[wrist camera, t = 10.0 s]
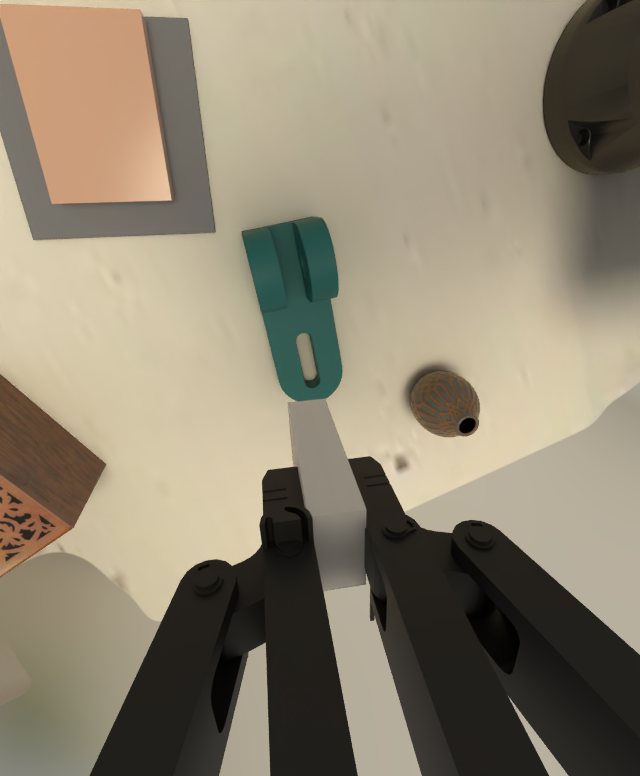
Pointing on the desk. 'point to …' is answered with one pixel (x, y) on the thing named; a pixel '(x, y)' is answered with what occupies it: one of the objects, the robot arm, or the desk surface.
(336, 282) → the bracket
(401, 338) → the desk surface
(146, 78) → the tile
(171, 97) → the mat
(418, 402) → the vase
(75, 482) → the tissue box cover
